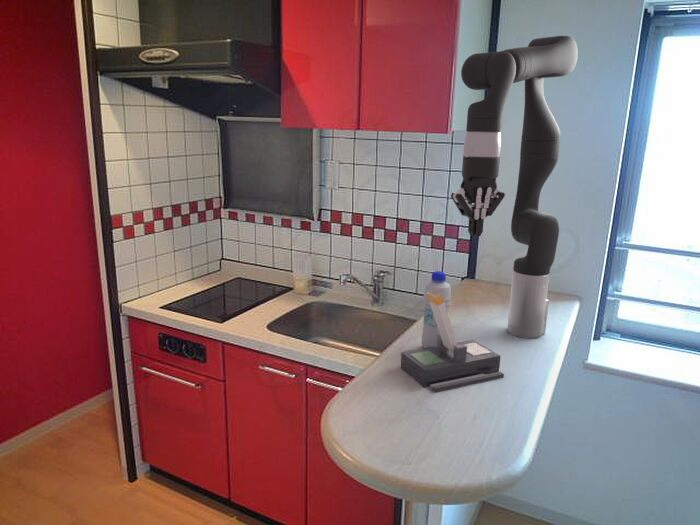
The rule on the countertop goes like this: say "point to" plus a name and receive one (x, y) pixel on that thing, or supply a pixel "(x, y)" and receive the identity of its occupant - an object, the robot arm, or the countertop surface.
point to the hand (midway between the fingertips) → (474, 235)
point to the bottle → (429, 320)
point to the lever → (442, 319)
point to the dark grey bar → (465, 381)
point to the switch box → (449, 362)
